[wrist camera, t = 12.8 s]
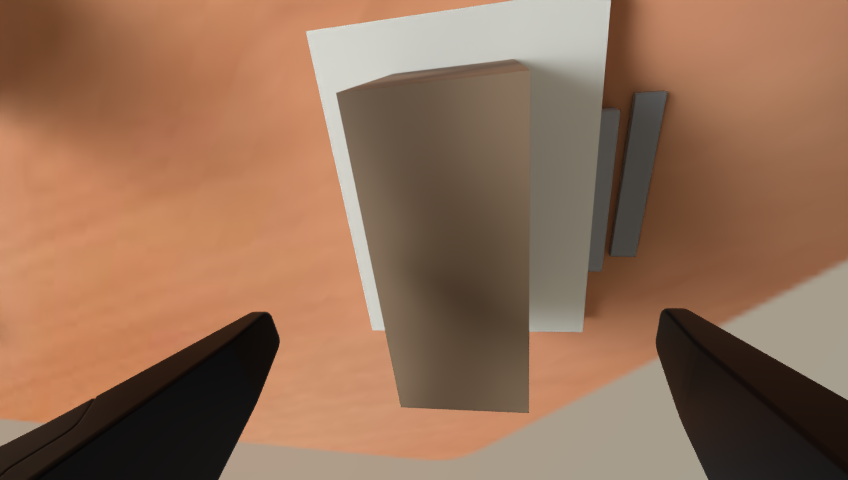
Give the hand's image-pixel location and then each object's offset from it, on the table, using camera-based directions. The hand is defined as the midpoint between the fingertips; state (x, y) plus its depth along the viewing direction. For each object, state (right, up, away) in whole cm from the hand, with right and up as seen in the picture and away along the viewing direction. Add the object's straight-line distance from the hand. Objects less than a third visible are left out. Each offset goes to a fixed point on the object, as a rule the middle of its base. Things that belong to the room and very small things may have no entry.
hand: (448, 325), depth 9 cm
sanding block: (+1, +4, +10) cm, 10 cm away
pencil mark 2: (+9, +5, +9) cm, 14 cm away
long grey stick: (+7, +4, +10) cm, 13 cm away
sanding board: (+1, +4, +11) cm, 12 cm away
